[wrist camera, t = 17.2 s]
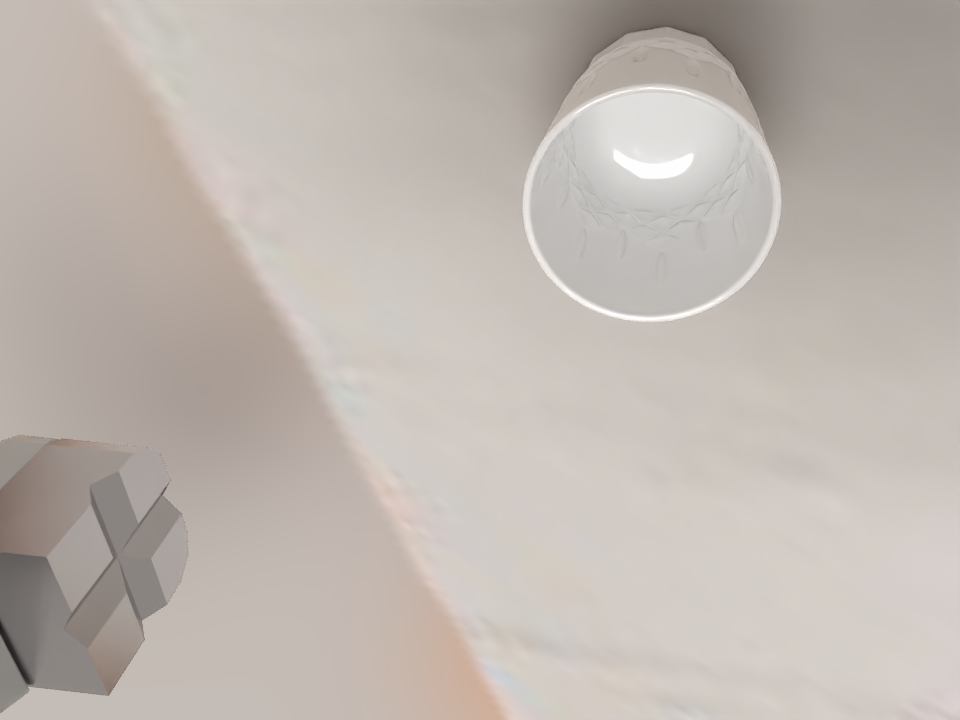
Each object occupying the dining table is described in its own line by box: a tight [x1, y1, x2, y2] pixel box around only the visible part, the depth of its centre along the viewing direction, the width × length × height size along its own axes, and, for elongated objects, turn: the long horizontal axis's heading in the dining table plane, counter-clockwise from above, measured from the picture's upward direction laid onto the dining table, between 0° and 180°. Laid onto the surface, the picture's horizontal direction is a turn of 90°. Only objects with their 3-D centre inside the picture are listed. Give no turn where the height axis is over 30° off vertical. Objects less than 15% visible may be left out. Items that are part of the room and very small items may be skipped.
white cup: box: [522, 27, 782, 322], centre depth 32 cm, size 8×8×10 cm
